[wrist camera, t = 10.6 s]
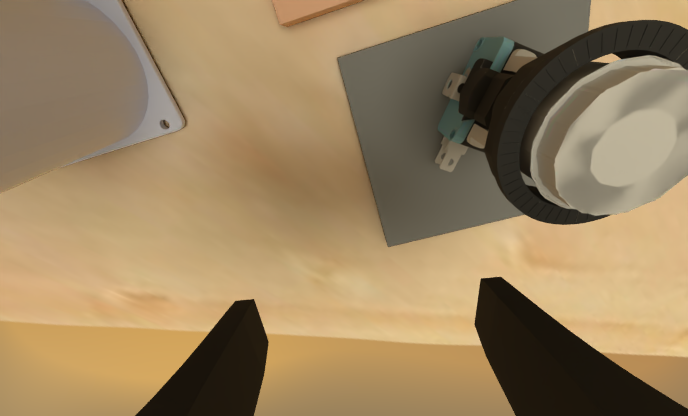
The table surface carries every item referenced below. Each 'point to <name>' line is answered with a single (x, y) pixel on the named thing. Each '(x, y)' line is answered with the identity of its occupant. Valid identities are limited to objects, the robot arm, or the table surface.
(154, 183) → the table surface
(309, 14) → the rectangular frame
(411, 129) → the rubber pad
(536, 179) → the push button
